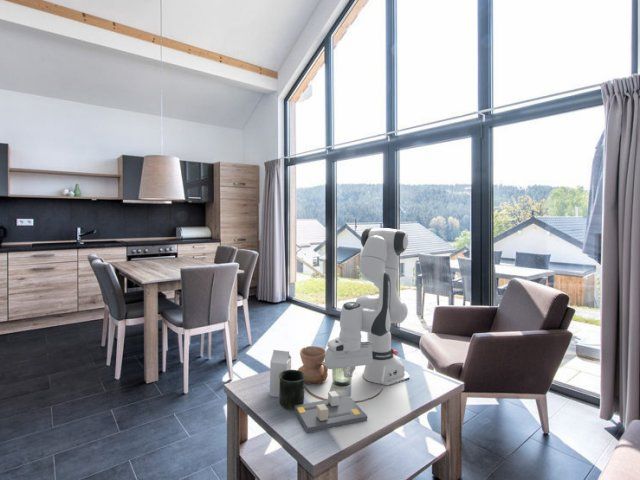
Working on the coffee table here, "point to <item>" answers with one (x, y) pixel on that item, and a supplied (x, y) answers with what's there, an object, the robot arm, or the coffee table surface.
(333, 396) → the off white slider
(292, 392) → the mug
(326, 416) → the sand slider
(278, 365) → the milk carton
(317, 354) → the ceramic jug
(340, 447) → the coffee table surface
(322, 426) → the switch panel
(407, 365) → the coffee table surface
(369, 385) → the coffee table surface
